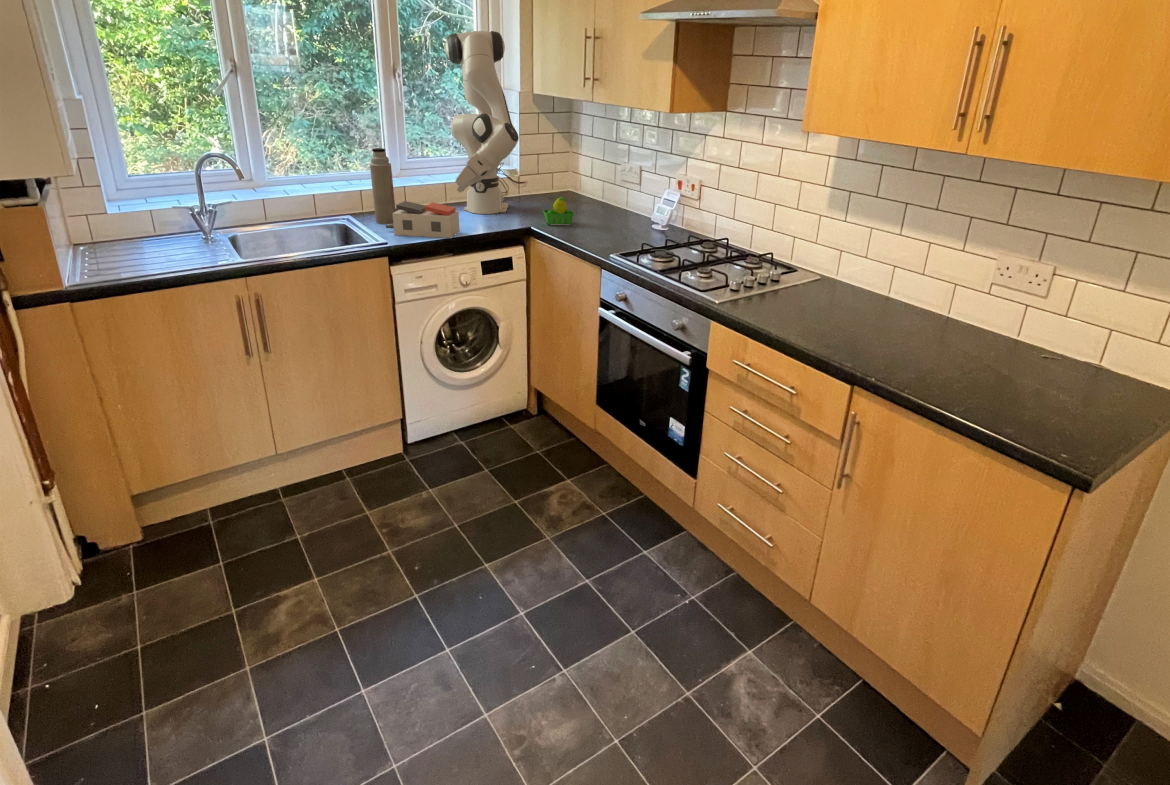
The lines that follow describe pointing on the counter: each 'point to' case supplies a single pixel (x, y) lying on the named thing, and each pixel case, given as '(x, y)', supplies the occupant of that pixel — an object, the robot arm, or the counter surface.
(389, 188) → the thermos bottle
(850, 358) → the counter surface
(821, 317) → the counter surface
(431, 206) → the red rocker
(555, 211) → the fruit basket
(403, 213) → the rocker switch box
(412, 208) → the black rocker
